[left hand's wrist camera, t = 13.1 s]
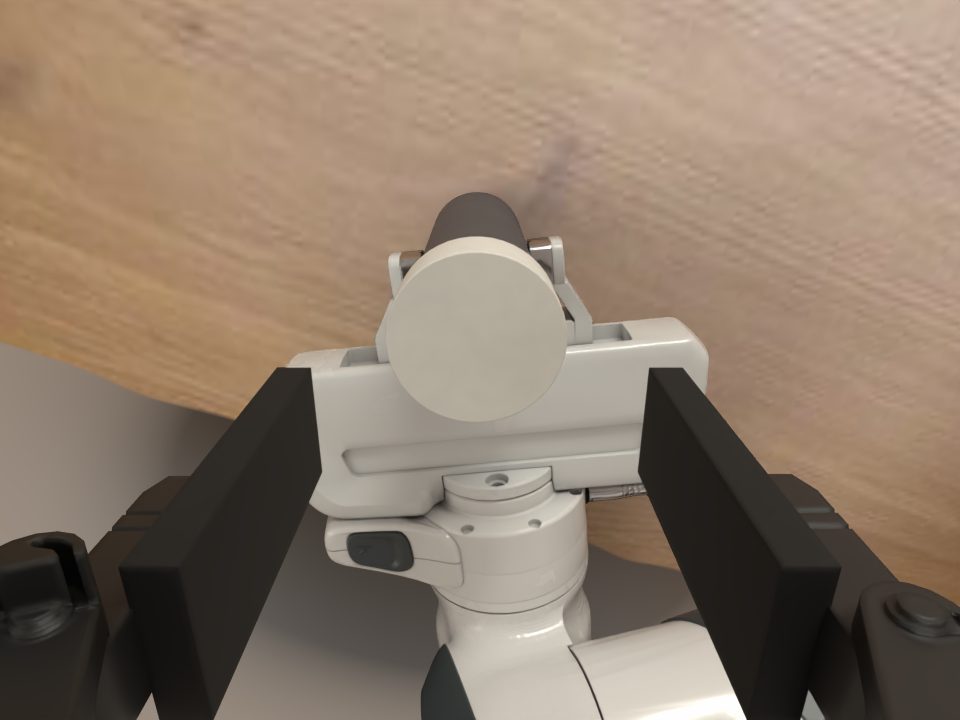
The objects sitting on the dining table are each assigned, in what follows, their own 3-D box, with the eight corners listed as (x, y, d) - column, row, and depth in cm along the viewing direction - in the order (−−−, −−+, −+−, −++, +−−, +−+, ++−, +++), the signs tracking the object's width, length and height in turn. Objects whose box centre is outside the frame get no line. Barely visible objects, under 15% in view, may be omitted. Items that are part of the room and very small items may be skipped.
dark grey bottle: (531, 263, 34) (572, 380, 20) (451, 291, 35) (431, 425, 20) (504, 179, 33) (527, 237, 18) (420, 209, 33) (374, 290, 18)
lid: (577, 364, 21) (588, 392, 19) (429, 411, 22) (424, 443, 20) (530, 212, 19) (536, 225, 17) (368, 268, 20) (355, 287, 18)
